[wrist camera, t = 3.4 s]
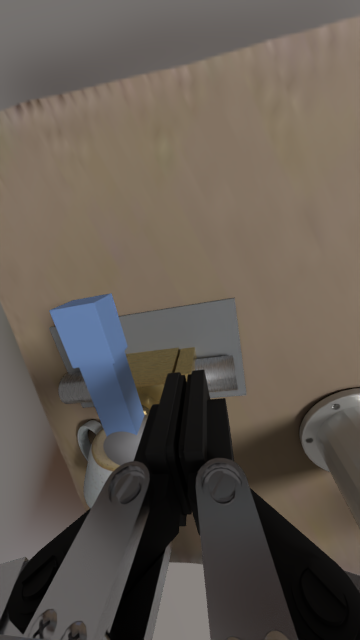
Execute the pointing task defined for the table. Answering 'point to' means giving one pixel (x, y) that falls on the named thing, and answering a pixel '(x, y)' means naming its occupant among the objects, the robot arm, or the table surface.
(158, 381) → the valve
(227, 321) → the mat
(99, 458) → the ceramic mug
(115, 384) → the lever
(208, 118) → the table surface
